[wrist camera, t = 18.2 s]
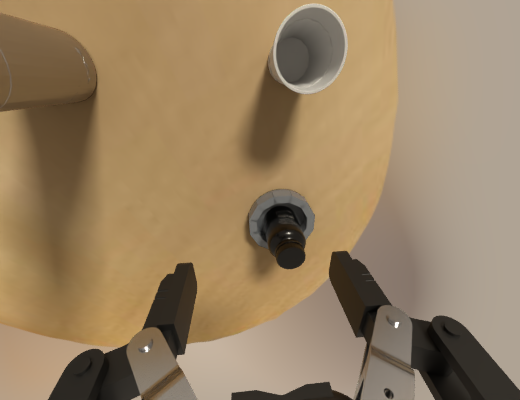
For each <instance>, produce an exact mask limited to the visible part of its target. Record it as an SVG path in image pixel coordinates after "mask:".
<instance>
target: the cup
mask: <svg viewBox="0 0 520 400" xmlns="http://www.w3.org/2000/svg"><path fill="white" fill-rule="evenodd" d="M347 46H348V43H347V34H346V30H345V27H344V25H343V23H342V21H341V19H340V18H339V16H338V15H337V14H336V13H335V12H334V11H333V10H332V9H330V8H328V7H326V6H324V5H321V4H307V5H304V6H301V7H299V8H297V9H295V10H294V11H293V12H291V13H290V14H289V15H288V16H287V17H286V18H285V20H284V21H283V22H282V24H281V25H280V27H279V29H278V31H277V34H276V37H275V40H274V44H273V46H272V48H271V50H270V52H269V56H268V67H269V71H270V73H271V75H272V77H273V78H274V79H275V80H276V81H277V82H279V83H281V84H283V85H285V86H286V87H288V88H289V89H291V90H292V91H294V92H297V93H300V94H313V93H317V92H319V91H322V90H323V89H325V88H327V87H328V86H329V85H330V84H331V83H332V82H333V81H334V80H335V79H336V78H337V76H338V75H339V73H340V72H341V70H342V68H343V65H344V63H345V59H346V55H347Z"/></svg>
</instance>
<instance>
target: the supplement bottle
mask: <svg viewBox="0 0 520 400" xmlns="http://www.w3.org/2000/svg"><path fill="white" fill-rule="evenodd" d="M264 227H265V233H266V238H267V244H268V248H269V251H270V253H271V254H272V255H273V256H275V257H276V260H277V263H278V265H280V267H282V268H284V269H294V268H297V267H299V266H300V265H302V263H304V261H305V252H304V248H305V245H306V239H305V236H304V234H303V231H302V229H301V226H300V224H299V222H298V219H297V217H296V215H295V213H294V211H293V210H292V209H291V208H289V207H287V206H276V207H273V208H271V209H270V210H269V211H268V212H267V213H266V214H265V217H264Z"/></svg>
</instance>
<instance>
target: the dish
mask: <svg viewBox="0 0 520 400" xmlns="http://www.w3.org/2000/svg"><path fill="white" fill-rule="evenodd" d="M276 206H287V207H289V208H291V209H292V210H293V211H294V213H295V215H296V217H297V219H298V222H299V224H300V226H301V229H302V231H303V234H304V236H305V239H307V238H308V236H309V235H310V234H311V232H312V231H313V229H314V219H315V215H314V213H313V211H312V210H311V208H310V206H309V204H308V203H307V201H306V199H305V198H304V197H303V196H301V195H300V194H299V193H297V192H295V191H292V190H288V189H276V190H272V191H269V192H267V193H265V194H263V195H262V196H260V197H259V198H258V199H257V200H256V201H255V202H254V204H253V205H252V207H251V209H250V212H249V227H250V235H251V236H252V238H253V239H254V240H255V241H256V243H257V244H258V245H259V246H261V247H264V248H267V249H269V248H268V244H267V238H266V233H265V227H264V217H265V214H266V213H267V212H268V211H269V210H270V209H271V208H273V207H276Z"/></svg>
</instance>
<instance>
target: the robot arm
mask: <svg viewBox="0 0 520 400" xmlns="http://www.w3.org/2000/svg"><path fill="white" fill-rule="evenodd" d="M96 82H97V79H96V70H95V66H94V64H93V62H92V59H91V57H90V56H89V54H88V53H87V51H86V50H85V49H84V47H83V46H82V45H81V44H80V43H79V42H78V41H77V40H75V39H74V38H73V37H72V36H70V35H68V34H67V33H65V32H63V31H60V30H58V29H55V28H51V27H48V26H44V25H41V24H37V23H34V22H31V21H27V20H24V19H20V18H17V17H13V16H10V15H6V14H3V13H0V112H2V111H10V110H18V109H26V108H34V107H42V106H50V105H59V104H67V103H75V102H80V101H84V100H85V99H87V98H89V97H90V96H91V94H92V93H93V91H94V89H95V87H96ZM329 277H330V281H331V283H332V286H333V287H334V290H335V292H336V294H337V296H338V299H339V301H340V303H341V305H342V307H343V310H344V312H345V314H346V316H347V318H348V321H349V323H350V325H351V327H352V329H353V332H354V334H355V336H356V337H364V338H365V340H366V342H367V344H366V347H365V352H364V356H363V361H362V366H361V371H360V375H359V380H358V384H357V388H356V391H355V395H354V399H351V398H349V397H348V396H346V395H344V394H342V393H339V392H337V391H334V390H332V389H331V386H330V383H329V382H324V383H315V384H306V385H304V386H302V387H300V388H297V389H295V390H293V391H291V392H289V393H287V394H285V395H277V394H272V393H267V392H262V391H257V390H254V391H245V392H236V393H232V399H231V400H414V386H415V384H414V383H415V374H414V370H413V369H417V370H419V372H420V374H421V376H422V377H423V379H424V381H425V383H426V385H427V386H428V388H429V390H430V392H431V393H432V395H433V397H434V399H435V400H520V390H519V389H518V388H517V387H516V386H515V385H514V383H513V382H512V381H511V380H510V379H509V378H508V376H507V375H506V374H505V373H504V372H503V370H502V369H501V368H500V367H499V366H498V365H497V363H496V362H495V361H494V360H493V359H492V358H491V356H490V355H489V354H488V353H487V352H486V351H485V349H484V348H483V347H482V346H481V345H480V344H479V342H478V341H477V340H476V339H475V338H474V337H473V335H472V334H471V333H470V332H469V331H468V330H467V329H466V327H464V326H463V325H462V324H461V323H459V322H458V321H456V320H454V319H452V318H449V317H447V316H436V317H434V318H433V320H432V321H431V322H428V321H423V320H418V319H414V318H410V317H408V315H407V314H406V313H405V312H403V311H402V310H400V309H399V308H397V307H394V306H392V305H391V303H390V302H389V301H388V299H387V297H386V296H385V295H384V293H383V292H382V290H381V289H380V287H379V286H378V284H377V283H376V281H374V278H373V277H372V275H370V272H369V271H368V270H367V268H366V267H365V265H363V264H362V263H361V262H360V261H358V260H357V259H354V260H352V258H351V257H350V255H349V253H348V252H347V251H337V252H332V256H331V262H330V268H329ZM196 294H197V281H196V276H195V272H194V268H193V264H192V263H179V264H177V266H176V269H175V272H174V274H168V275H167V276H166V277H165V278H164V279H163V280H162V281H161V283H160V286H159V288H158V292H157V294H156V296H155V300H154V301H153V304H152V306H151V309H150V311H149V314H148V317H147V319H146V322H145V324H144V327H143V329H142V331H140V332H138V333H137V334H136V335H135V336H134V337H133V338H132V339H131V341H130V342H129V343H128V344H127V345H125V346H122V347H120V348H118V349H115V350H113V351H110V352H108V353H105V354H104V353H103V352H102V351H101V350H99V349H91V350H88V351H85V352H83V353H81V354H80V355H78V356H77V357H76V358H74V359H73V360H72V361H71V362H70V363H69V364H68V366H67V367H66V368H65V370H64V372H63V373H62V375H61V377H60V379H59V381H58V383H57V384H56V386H55V388H54V390H53V391H52V393H51V395H50V397H49V399H48V400H131V399H133V398H135V397H137V396H139V395H141V398H142V400H197V398H196V396H195V394H194V392H193V390H192V388H191V386H190V385H189V382H188V380H187V379H186V377H185V375H184V373H183V371H182V369H181V368H180V367H179V365H178V363H177V362H176V358H177V355H182V354H184V353H185V348H186V344H187V339H188V334H189V329H190V324H191V319H192V314H193V309H194V304H195V299H196ZM411 368H413V369H411Z"/></svg>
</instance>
